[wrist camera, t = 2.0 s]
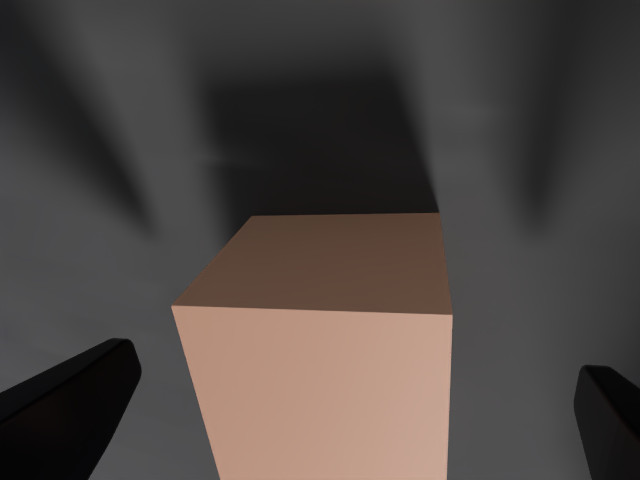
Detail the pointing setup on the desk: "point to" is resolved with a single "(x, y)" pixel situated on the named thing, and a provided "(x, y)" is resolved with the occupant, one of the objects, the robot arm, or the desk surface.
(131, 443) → the desk surface
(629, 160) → the desk surface
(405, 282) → the cube
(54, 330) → the desk surface
